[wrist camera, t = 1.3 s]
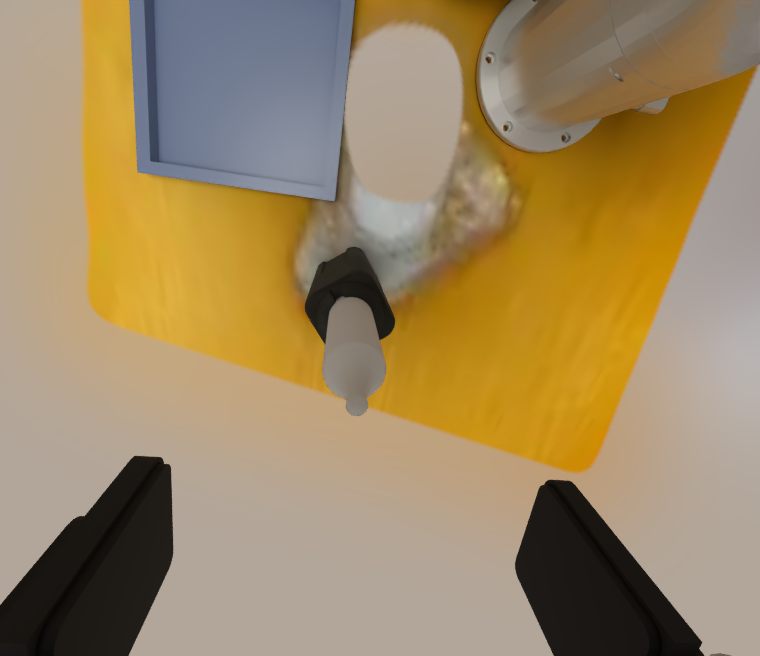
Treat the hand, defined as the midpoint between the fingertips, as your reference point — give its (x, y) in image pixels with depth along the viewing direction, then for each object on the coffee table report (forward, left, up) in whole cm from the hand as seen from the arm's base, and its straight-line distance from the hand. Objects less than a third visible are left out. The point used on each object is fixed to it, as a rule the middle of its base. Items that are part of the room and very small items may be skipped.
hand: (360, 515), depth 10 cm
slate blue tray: (+10, -15, -30) cm, 35 cm away
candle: (0, 0, -30) cm, 30 cm away
